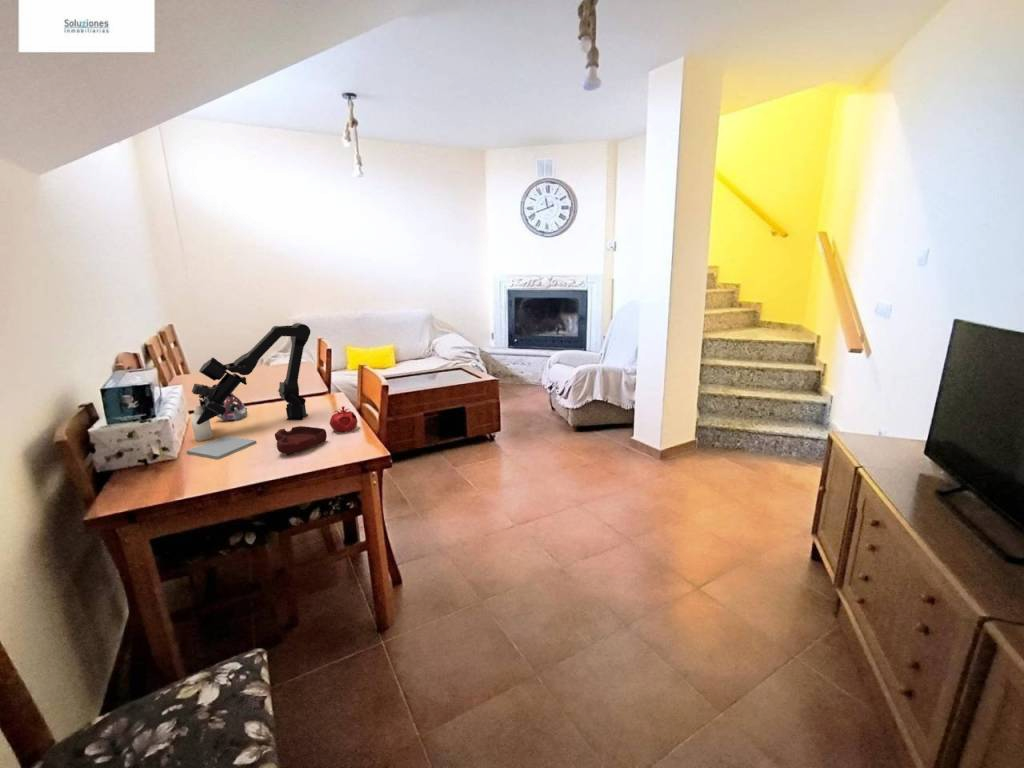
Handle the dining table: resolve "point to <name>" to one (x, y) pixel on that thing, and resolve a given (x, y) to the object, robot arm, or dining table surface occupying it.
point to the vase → (203, 429)
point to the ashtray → (299, 439)
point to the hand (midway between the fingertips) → (196, 422)
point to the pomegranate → (343, 421)
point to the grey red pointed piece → (233, 409)
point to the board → (221, 447)
